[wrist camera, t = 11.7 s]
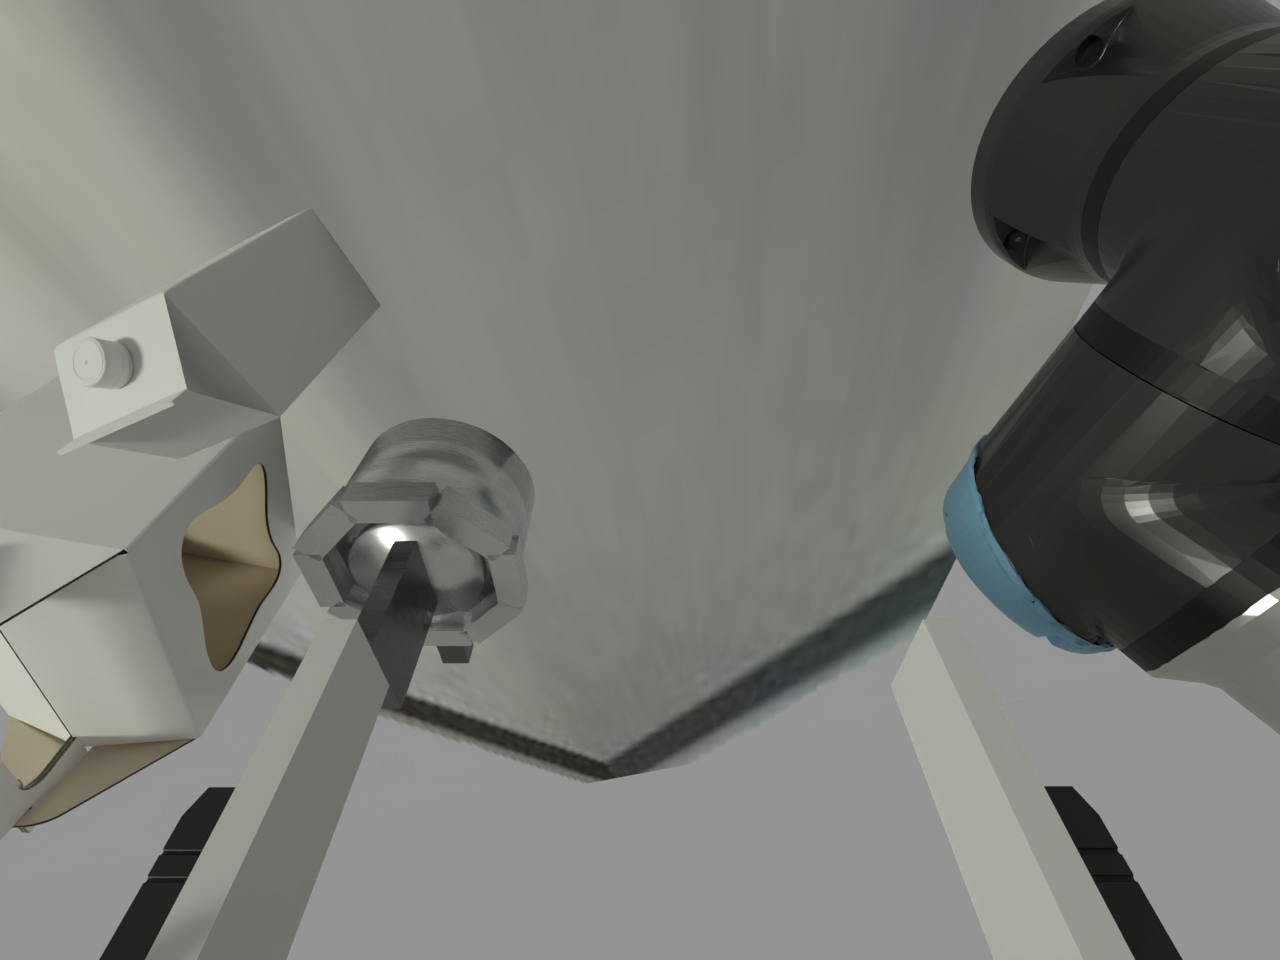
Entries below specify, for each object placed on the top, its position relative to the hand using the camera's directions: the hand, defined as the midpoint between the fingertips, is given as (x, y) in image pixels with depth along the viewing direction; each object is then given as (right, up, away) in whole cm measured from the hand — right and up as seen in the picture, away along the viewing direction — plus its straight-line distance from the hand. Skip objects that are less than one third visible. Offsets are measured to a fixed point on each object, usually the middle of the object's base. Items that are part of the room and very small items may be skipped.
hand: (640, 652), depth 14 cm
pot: (-17, +1, +40) cm, 43 cm away
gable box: (-38, +4, +37) cm, 54 cm away
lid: (-17, -2, +31) cm, 35 cm away
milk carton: (-23, +18, +26) cm, 39 cm away
